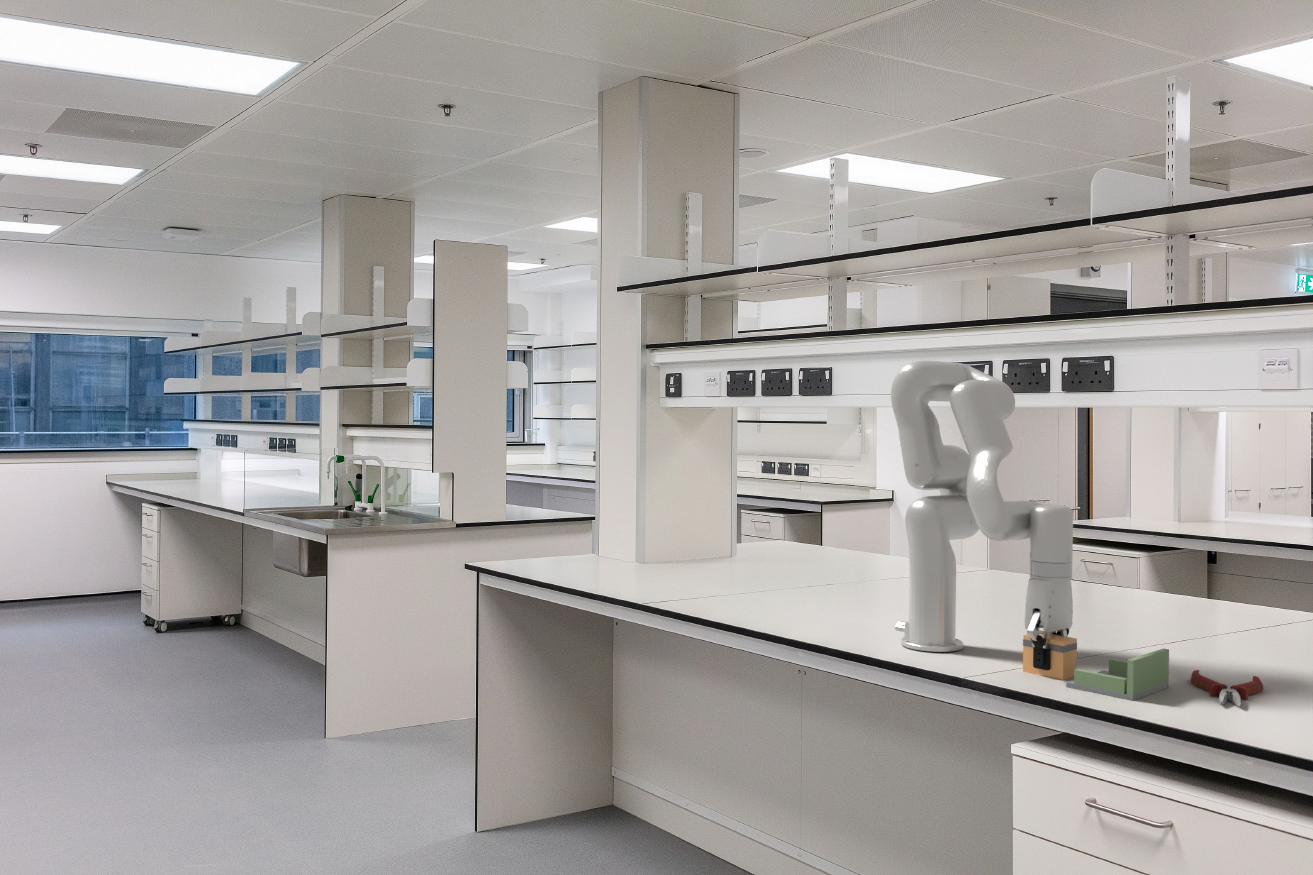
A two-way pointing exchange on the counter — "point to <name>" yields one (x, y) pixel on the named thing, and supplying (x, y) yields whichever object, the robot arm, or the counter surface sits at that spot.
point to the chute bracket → (1127, 676)
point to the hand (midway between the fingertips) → (1049, 665)
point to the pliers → (1224, 694)
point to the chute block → (1053, 657)
